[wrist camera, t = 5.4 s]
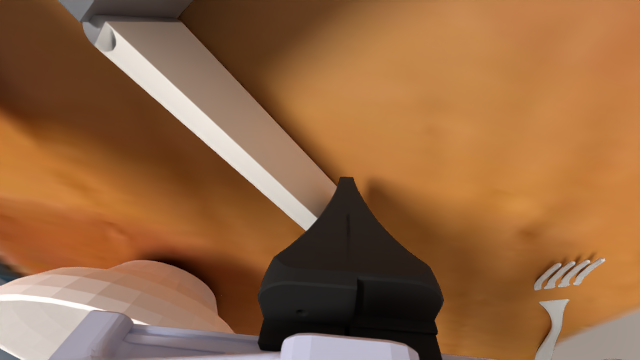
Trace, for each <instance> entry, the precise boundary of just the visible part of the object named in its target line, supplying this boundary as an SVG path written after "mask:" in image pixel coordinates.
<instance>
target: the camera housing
mask: <svg viewBox="0 0 640 360" xmlns="http://www.w3.org/2000/svg"><path fill="white" fill-rule="evenodd" d="M58 1H59V2H60V3H61V4H62V5H63V6H64V7H65V8H66V9H67V10H68V11H69V12H70V13H71V14H72V15H73V16H74V17H75V18H76V19H77V20H78V21H79V22H89V21H90V19H91V18H92V17H93V15H113V16H139V17H165V18H176V19H177V18H178V17H179V15H180V14H181V13H182V12H183V11H184V10H185V9H186V8H187V7H188V6H189V5H190V3H191V2H192V1H193V0H58Z"/></svg>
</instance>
